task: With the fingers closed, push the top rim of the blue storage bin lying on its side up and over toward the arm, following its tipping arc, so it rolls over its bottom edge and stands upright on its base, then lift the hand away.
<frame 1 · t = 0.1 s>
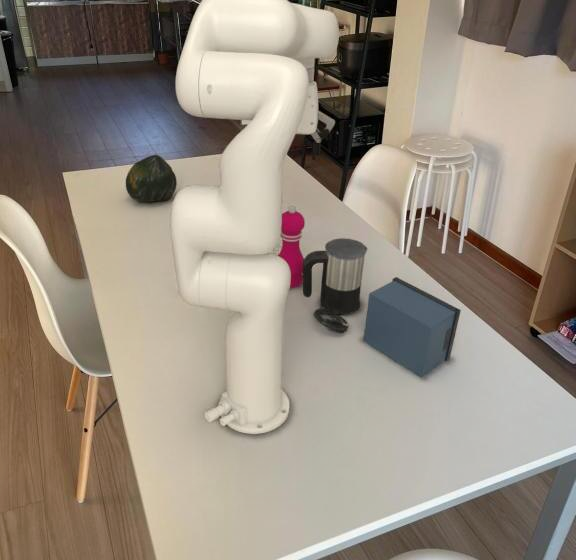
hand: (292, 156, 125), 31 cm above the table, tool pointing down, fingers open, 9 cm apart
pepper mill: (289, 281, 141), on the table
squash: (153, 199, 180), on the table
milk frother: (337, 314, 130), on the table
blue storage bin: (405, 349, 120), on the table
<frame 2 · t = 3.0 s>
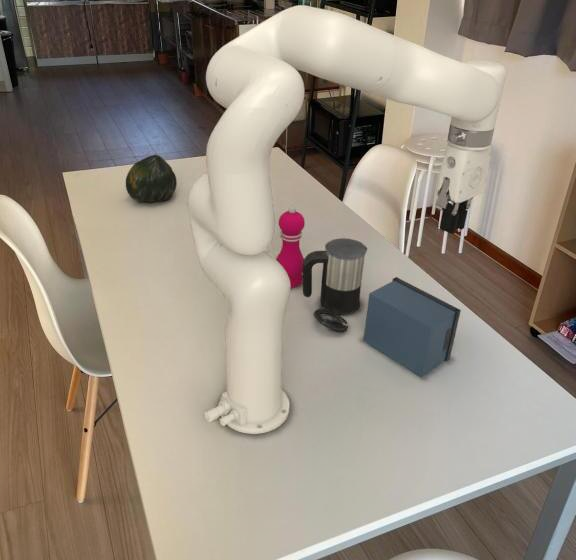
hand: (451, 228, 112), 25 cm above the table, tool pointing down, fingers closed
nothing on the table moved.
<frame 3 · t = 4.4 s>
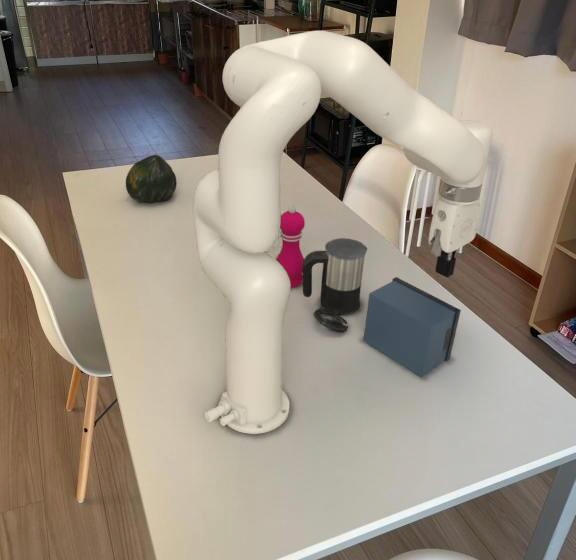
hand: (443, 273, 117), 15 cm above the table, tool pointing down, fingers closed
nothing on the table moved.
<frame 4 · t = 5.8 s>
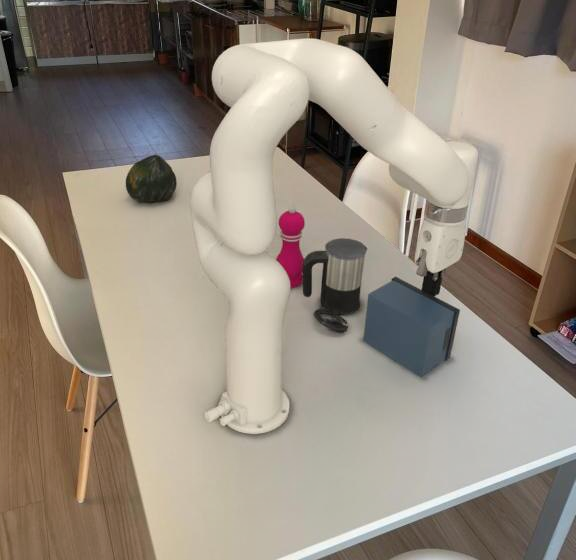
hand: (430, 292, 117), 12 cm above the table, tool pointing down, fingers closed
blue storage bin: (405, 349, 120), on the table, touching gripper
everything else where it was.
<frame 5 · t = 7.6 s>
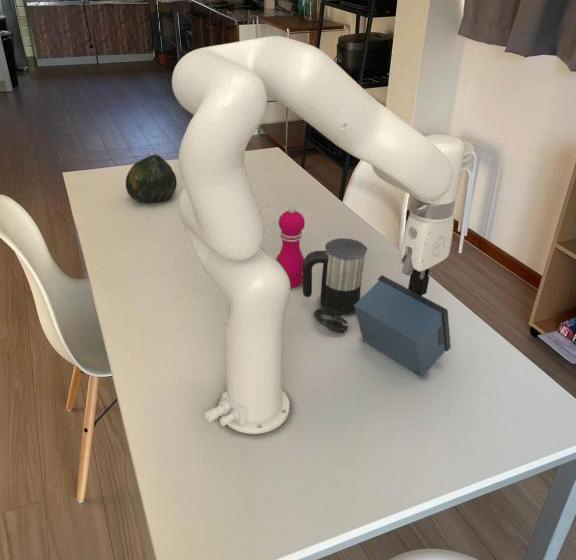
hand: (417, 291, 113), 14 cm above the table, tool pointing down, fingers closed
blue storage bin: (405, 343, 119), point 2 cm above the table, tilted 22°, touching gripper
everything else where it was.
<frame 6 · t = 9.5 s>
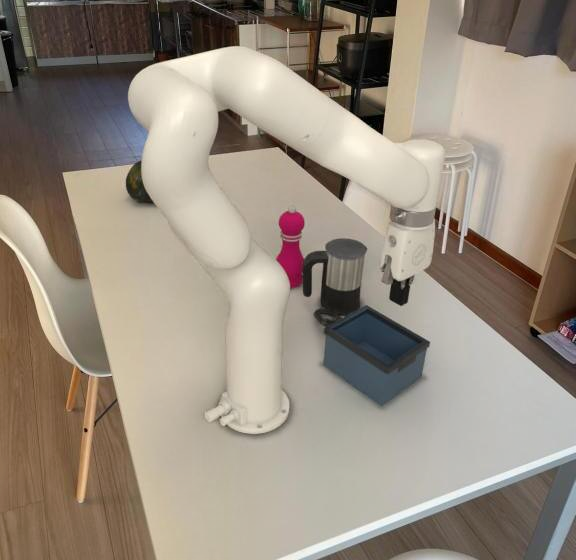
hand: (398, 301, 109), 14 cm above the table, tool pointing down, fingers closed
blue storage bin: (394, 340, 115), point 5 cm above the table, tilted 90°
everything else where it was.
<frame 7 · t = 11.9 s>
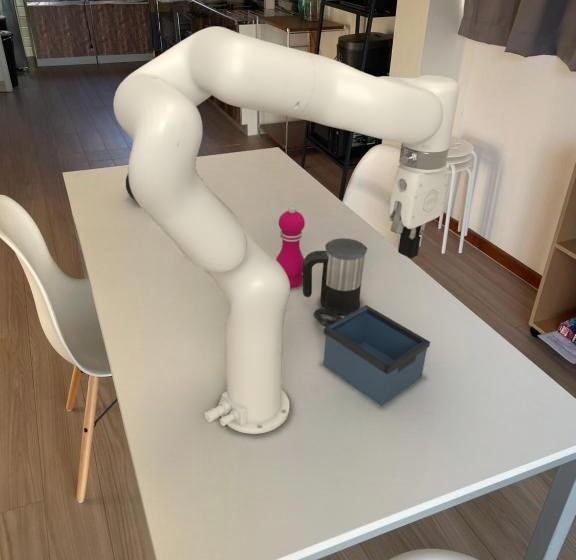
hand: (407, 254, 104), 24 cm above the table, tool pointing down, fingers closed
nothing on the table moved.
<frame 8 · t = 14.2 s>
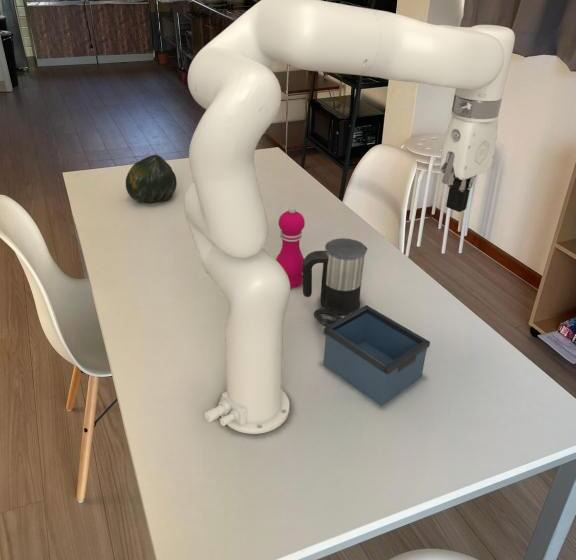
hand: (455, 208, 105), 31 cm above the table, tool pointing down, fingers closed
nothing on the table moved.
at the end: blue storage bin tilted 90°; blue storage bin 0.0 cm from the target spot, point 4.5 cm above the table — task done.
